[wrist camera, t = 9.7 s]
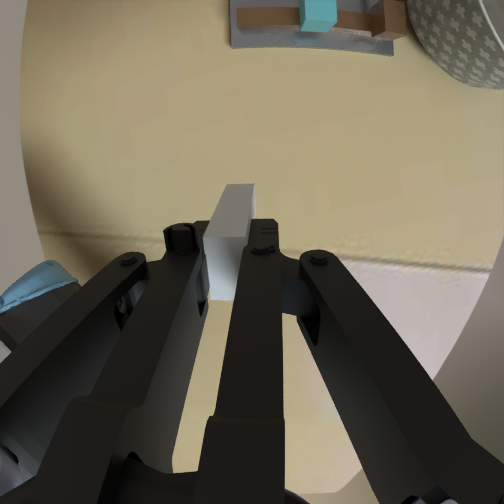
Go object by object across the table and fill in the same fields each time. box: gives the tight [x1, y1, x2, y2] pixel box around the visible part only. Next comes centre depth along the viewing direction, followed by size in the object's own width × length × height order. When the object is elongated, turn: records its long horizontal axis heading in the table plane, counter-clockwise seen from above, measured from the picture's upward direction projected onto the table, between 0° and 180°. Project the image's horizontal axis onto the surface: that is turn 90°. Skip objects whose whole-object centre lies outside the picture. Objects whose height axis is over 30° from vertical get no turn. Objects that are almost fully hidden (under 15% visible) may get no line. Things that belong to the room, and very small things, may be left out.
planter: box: [407, 0, 504, 90], centre depth 19 cm, size 19×19×18 cm
